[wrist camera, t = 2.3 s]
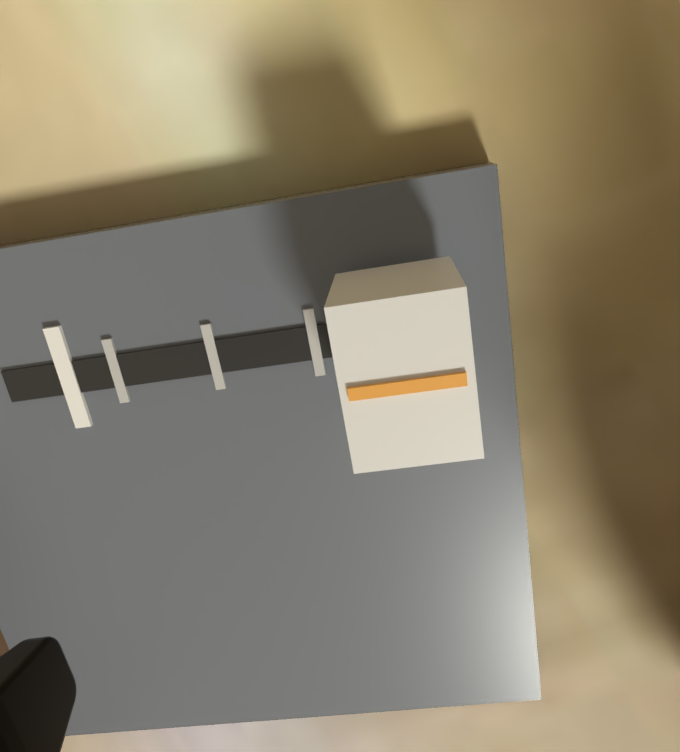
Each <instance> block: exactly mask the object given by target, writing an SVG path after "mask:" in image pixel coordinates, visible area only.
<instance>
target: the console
mask: <svg viewBox="0 0 680 752" xmlns="http://www.w3.org/2000/svg"><path fill="white" fill-rule="evenodd" d="M447 256H450V257H451V259H452V261H453V263H454V265H455V266H456V268H457V270H458V272H459V274H460V276H461V277H462V279H463V281H464V283H465V285H466V287H467V296H468V305H469V315H470V325H471V334H472V344H473V353H474V363H475V373H476V382H477V392H478V401H479V411H480V421H481V430H482V440H483V449H484V459H475V460H467V461H459V462H450V463H442V464H433V465H425V466H417V467H408V468H400V469H391V470H383V471H375V472H366V473H358V474H354V472H353V466H352V461H351V455H350V450H349V444H348V439H347V433H346V428H345V422H344V417H343V411H342V406H341V400H340V395H339V389H338V384H337V378H336V373H335V367H334V362H333V356H332V351H331V345H330V340H329V334H328V328H327V323H326V317H325V312H324V306H325V303H326V300H327V297H328V294H329V291H330V288H331V285H332V282H333V280H334V277H335V274H337V273H344V272H350V271H357V270H363V269H370V268H376V267H382V266H389V265H395V264H402V263H408V262H415V261H421V260H427V259H434V258H440V257H447ZM0 629H1V631H2V634H3V636H4V638H5V641H6V643H7V646H8V648H9V650H10V649H11V648H13V647H14V646H16V645H17V644H18V643H20V642H21V641H23V640H26V639H30V638H39V637H47V636H50V637H54V638H55V639H56V640H57V641H58V642H59V643H60V645H61V648H62V650H63V652H64V655H65V657H66V659H67V662H68V664H69V666H70V669H71V671H72V673H73V676H74V678H75V681H76V688H77V693H76V699H75V703H74V707H73V710H72V714H71V717H70V720H69V724H68V727H67V731H66V734H65V736H69V735H82V734H95V733H108V732H122V731H135V730H148V729H161V728H174V727H187V726H201V725H214V724H227V723H240V722H253V721H266V720H279V719H293V718H306V717H319V716H332V715H345V714H358V713H371V712H385V711H398V710H411V709H424V708H437V707H450V706H464V705H477V704H490V703H503V702H516V701H529V700H541V689H540V677H539V665H538V652H537V640H536V628H535V616H534V604H533V592H532V580H531V568H530V556H529V544H528V532H527V520H526V508H525V496H524V484H523V472H522V460H521V448H520V435H519V423H518V411H517V399H516V387H515V375H514V363H513V351H512V339H511V327H510V315H509V303H508V291H507V279H506V267H505V255H504V243H503V231H502V218H501V206H500V194H499V182H498V170H497V164H494V163H490V162H489V163H483V164H477V165H472V166H466V167H460V168H454V169H448V170H442V171H436V172H431V173H425V174H419V175H413V176H407V177H401V178H395V179H390V180H384V181H378V182H372V183H366V184H360V185H354V186H349V187H343V188H337V189H331V190H325V191H319V192H313V193H308V194H302V195H296V196H290V197H284V198H278V199H272V200H267V201H261V202H255V203H249V204H243V205H237V206H231V207H226V208H220V209H214V210H208V211H202V212H196V213H190V214H185V215H179V216H173V217H167V218H161V219H155V220H149V221H144V222H138V223H132V224H126V225H120V226H114V227H109V228H103V229H97V230H91V231H85V232H79V233H73V234H68V235H62V236H56V237H50V238H44V239H38V240H32V241H27V242H21V243H15V244H9V245H3V246H0Z"/></svg>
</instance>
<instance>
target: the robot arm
mask: <svg viewBox="0 0 680 752" xmlns="http://www.w3.org/2000/svg"><path fill="white" fill-rule="evenodd" d="M76 693H77V688H76V681H75V678H74V676H73V673H72V671H71V669H70V666H69V664H68V662H67V659H66V657H65V655H64V652H63V650H62V648H61V645H60V643H59V642H58V641H57V640H56V639H55V638H54V637H50V636H47V637H39V638H30V639H26V640H23V641H21V642H20V643H18V644H17V645H16V646H14V647H13V648H11V649H10V650H9V651H7V652H6V653H4V654H3V655H2V656H0V752H60V751H61V748H62V744H63V741H64V737H65V734H66V731H67V727H68V724H69V720H70V717H71V714H72V710H73V707H74V703H75V699H76Z"/></svg>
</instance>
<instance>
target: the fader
mask: <svg viewBox="0 0 680 752" xmlns="http://www.w3.org/2000/svg"><path fill="white" fill-rule="evenodd" d="M324 312H325V317H326V323H327V328H328V334H329V340H330V345H331V351H332V356H333V362H334V367H335V373H336V378H337V384H338V389H339V395H340V400H341V406H342V411H343V417H344V422H345V428H346V433H347V439H348V444H349V450H350V455H351V461H352V466H353V472H354V474H358V473H366V472H375V471H383V470H391V469H400V468H408V467H417V466H425V465H433V464H442V463H450V462H459V461H467V460H475V459H484V449H483V440H482V430H481V421H480V411H479V401H478V392H477V382H476V373H475V363H474V353H473V344H472V334H471V325H470V315H469V305H468V296H467V287H466V285H465V283H464V281H463V279H462V277H461V276H460V274H459V272H458V270H457V268H456V266H455V265H454V263H453V261H452V259H451V257H450V256H447V257H440V258H434V259H427V260H421V261H415V262H408V263H402V264H395V265H389V266H382V267H376V268H370V269H363V270H357V271H350V272H344V273H337V274H335V277H334V280H333V282H332V285H331V288H330V291H329V294H328V297H327V300H326V303H325V306H324Z"/></svg>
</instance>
